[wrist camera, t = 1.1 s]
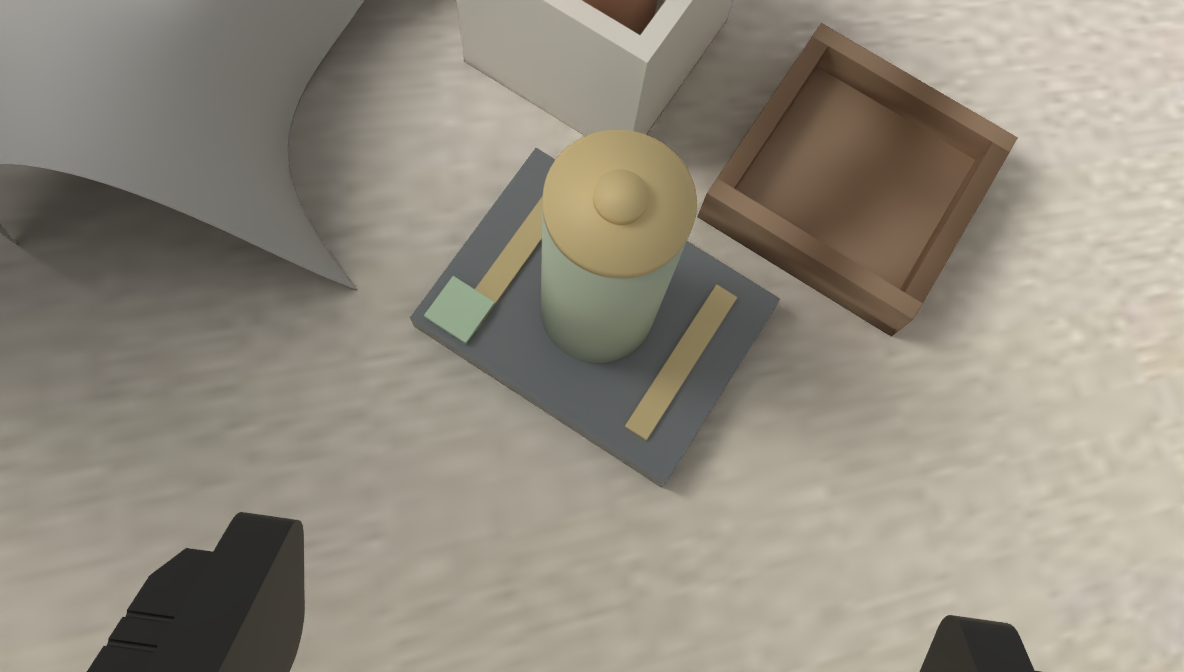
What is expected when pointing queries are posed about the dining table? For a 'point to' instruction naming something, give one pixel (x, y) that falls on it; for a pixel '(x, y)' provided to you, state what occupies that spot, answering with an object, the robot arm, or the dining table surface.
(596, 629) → the dining table surface
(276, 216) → the sculpture
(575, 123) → the white planter box
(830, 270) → the brown wooden tray
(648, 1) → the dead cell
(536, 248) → the grey board
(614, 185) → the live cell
